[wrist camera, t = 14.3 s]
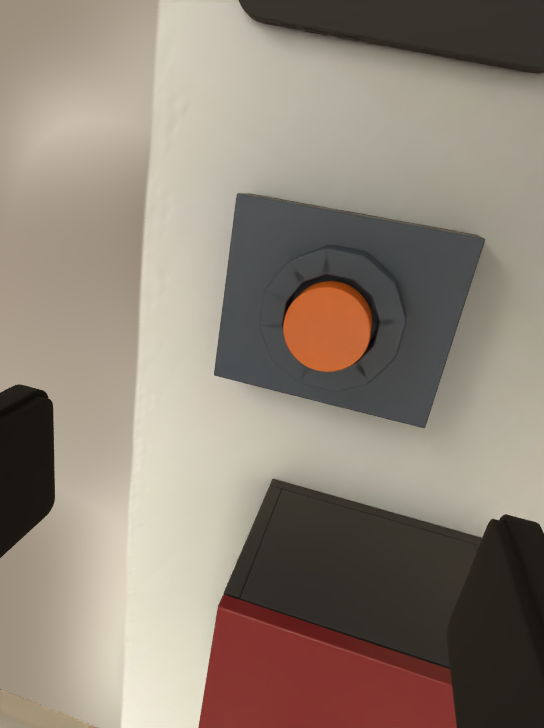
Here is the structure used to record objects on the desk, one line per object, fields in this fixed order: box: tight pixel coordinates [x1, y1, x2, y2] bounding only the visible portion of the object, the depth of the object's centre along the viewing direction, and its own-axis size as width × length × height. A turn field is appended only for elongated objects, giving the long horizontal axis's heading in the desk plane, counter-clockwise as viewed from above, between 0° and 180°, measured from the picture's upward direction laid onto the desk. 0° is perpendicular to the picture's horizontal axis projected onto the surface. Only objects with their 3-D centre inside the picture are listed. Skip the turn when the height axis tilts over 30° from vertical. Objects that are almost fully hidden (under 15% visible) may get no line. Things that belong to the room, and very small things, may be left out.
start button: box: [283, 281, 372, 372], centre depth 22 cm, size 4×4×2 cm
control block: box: [214, 193, 485, 428], centre depth 25 cm, size 12×10×4 cm
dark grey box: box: [224, 479, 482, 669], centre depth 29 cm, size 17×14×10 cm
